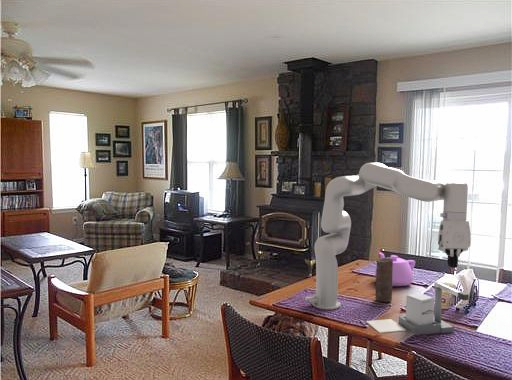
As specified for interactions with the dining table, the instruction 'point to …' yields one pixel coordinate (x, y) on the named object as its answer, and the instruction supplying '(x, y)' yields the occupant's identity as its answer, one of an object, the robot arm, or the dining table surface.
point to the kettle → (401, 271)
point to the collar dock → (438, 324)
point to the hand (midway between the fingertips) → (452, 266)
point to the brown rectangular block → (384, 279)
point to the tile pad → (385, 326)
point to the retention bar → (452, 291)
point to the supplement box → (419, 309)
